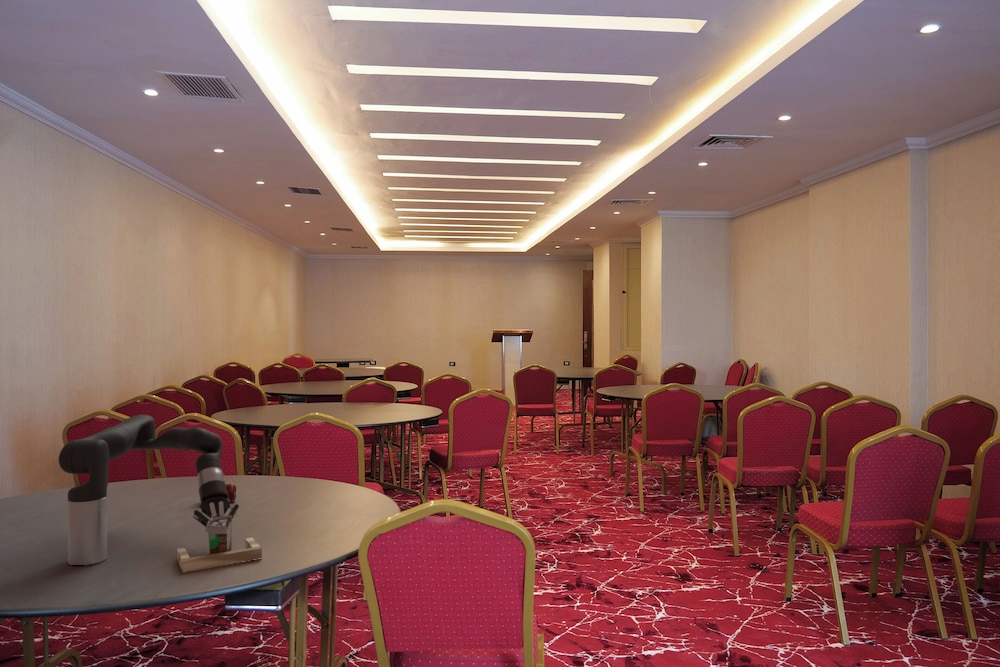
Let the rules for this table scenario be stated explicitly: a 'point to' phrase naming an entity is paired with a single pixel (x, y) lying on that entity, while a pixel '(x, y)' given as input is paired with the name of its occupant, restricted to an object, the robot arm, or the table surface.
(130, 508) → the table surface
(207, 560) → the wooden bridge piece
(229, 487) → the beverage can
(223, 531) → the food container
